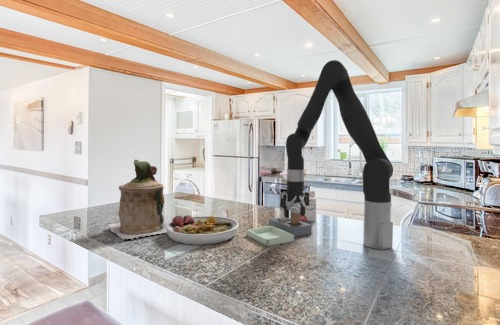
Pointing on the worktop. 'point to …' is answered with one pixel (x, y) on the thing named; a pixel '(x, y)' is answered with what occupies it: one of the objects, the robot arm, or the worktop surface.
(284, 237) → the parts tray
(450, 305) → the worktop surface
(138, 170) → the cookie jar
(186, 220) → the bowl
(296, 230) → the block
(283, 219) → the fuse
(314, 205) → the ink cartridge box
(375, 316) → the worktop surface
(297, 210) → the cylinder
